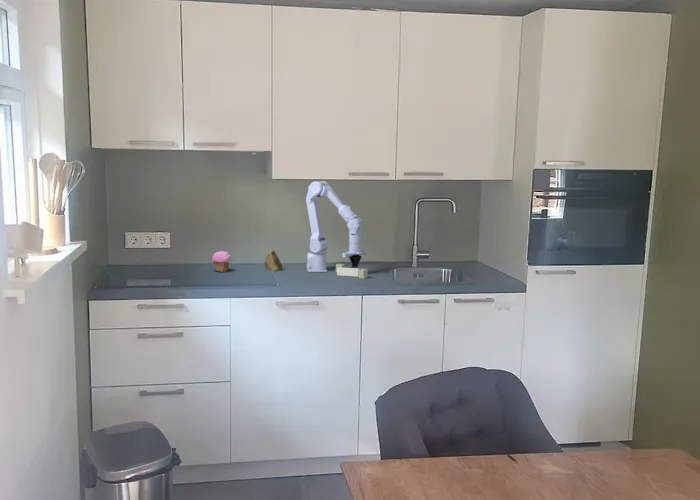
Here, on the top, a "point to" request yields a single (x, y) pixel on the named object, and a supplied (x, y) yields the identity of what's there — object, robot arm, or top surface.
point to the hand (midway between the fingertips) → (354, 270)
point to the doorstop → (350, 266)
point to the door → (348, 271)
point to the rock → (273, 262)
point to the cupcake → (221, 261)
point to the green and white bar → (362, 272)
